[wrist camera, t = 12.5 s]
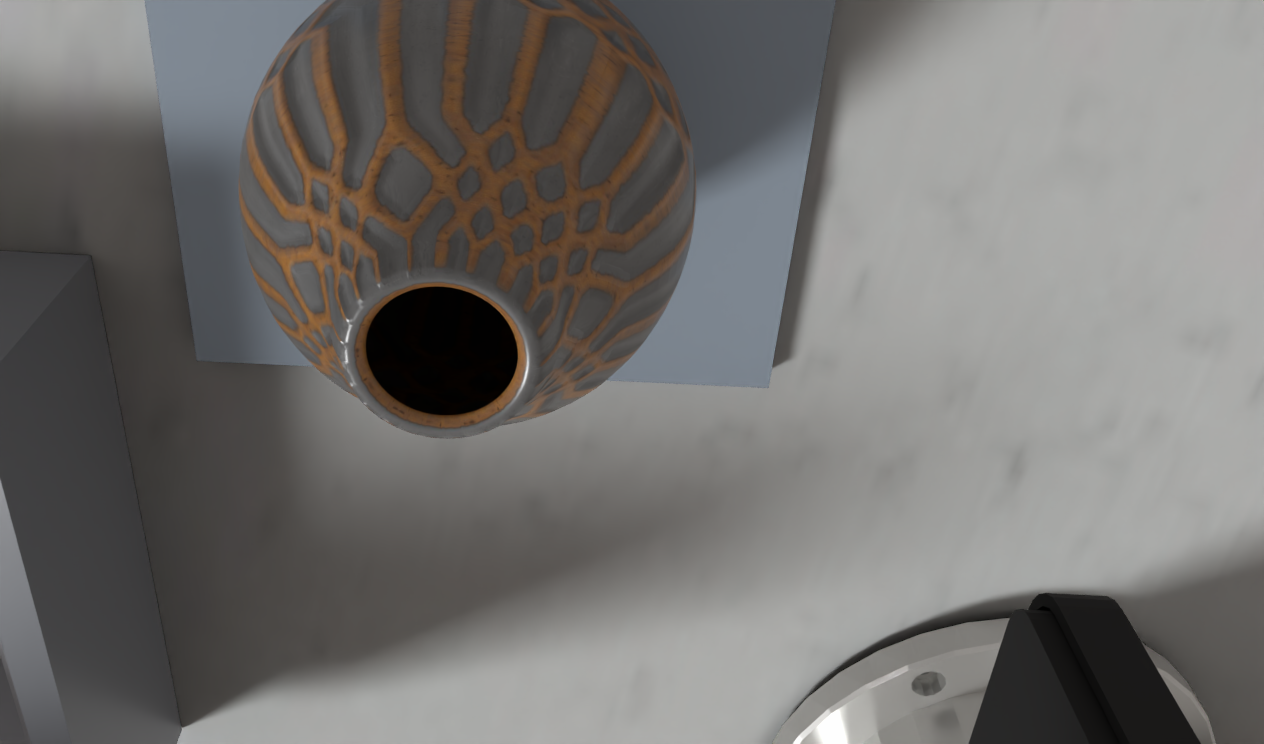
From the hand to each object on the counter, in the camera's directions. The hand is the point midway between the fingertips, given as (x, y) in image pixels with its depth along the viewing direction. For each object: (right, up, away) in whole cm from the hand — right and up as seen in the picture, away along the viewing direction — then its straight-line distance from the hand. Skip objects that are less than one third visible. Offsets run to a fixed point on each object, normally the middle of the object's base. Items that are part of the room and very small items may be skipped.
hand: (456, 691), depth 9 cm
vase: (-1, +8, +11) cm, 14 cm away
